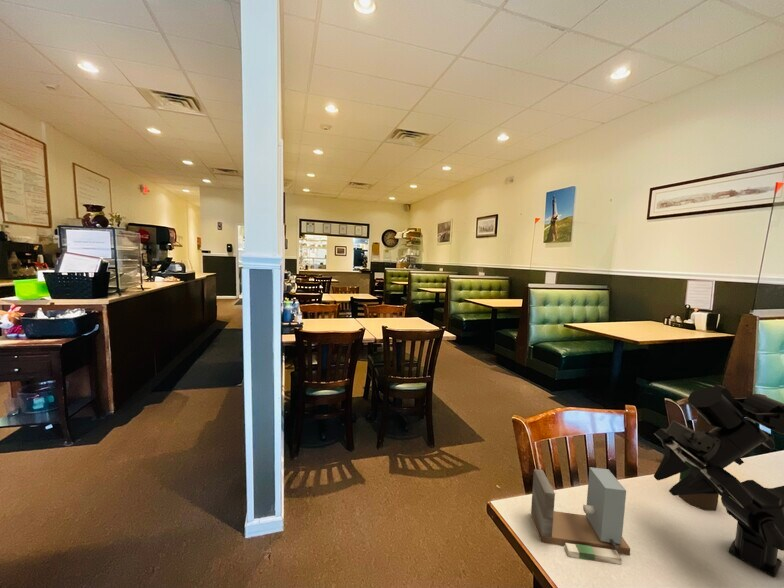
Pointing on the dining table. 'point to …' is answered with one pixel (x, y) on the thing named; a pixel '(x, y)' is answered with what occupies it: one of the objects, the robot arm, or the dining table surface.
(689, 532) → the dining table surface
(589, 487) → the gauge carriage
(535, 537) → the dining table surface
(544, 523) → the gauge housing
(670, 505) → the dining table surface
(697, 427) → the beer bottle
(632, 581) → the dining table surface
